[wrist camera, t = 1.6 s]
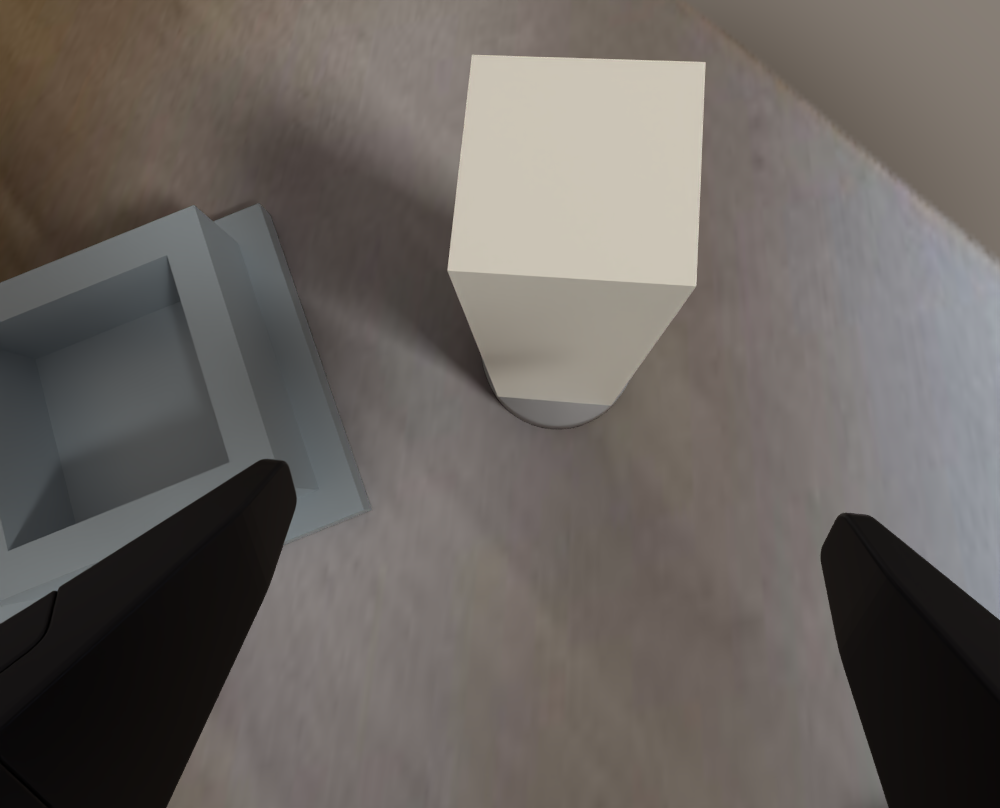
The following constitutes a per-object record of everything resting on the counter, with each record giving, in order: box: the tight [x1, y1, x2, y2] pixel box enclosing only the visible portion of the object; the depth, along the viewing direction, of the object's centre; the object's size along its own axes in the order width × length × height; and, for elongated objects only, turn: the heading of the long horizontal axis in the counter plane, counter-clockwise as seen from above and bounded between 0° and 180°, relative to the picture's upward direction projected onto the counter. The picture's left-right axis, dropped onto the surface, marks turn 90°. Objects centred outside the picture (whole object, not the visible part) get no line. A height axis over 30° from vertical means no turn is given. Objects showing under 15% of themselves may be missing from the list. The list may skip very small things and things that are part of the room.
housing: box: [0, 203, 372, 623], centre depth 21 cm, size 13×18×4 cm
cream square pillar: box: [447, 55, 705, 429], centre depth 16 cm, size 6×6×13 cm
